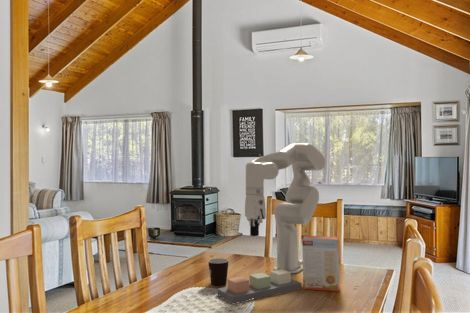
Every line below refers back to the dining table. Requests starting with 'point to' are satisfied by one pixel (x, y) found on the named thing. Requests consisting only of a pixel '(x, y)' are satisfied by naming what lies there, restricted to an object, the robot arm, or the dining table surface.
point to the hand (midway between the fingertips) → (254, 235)
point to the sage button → (260, 280)
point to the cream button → (280, 276)
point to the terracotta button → (238, 285)
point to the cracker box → (321, 263)
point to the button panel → (258, 291)
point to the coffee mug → (218, 271)
